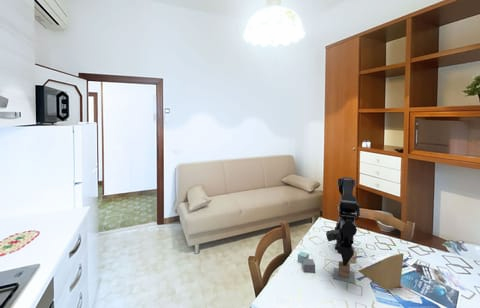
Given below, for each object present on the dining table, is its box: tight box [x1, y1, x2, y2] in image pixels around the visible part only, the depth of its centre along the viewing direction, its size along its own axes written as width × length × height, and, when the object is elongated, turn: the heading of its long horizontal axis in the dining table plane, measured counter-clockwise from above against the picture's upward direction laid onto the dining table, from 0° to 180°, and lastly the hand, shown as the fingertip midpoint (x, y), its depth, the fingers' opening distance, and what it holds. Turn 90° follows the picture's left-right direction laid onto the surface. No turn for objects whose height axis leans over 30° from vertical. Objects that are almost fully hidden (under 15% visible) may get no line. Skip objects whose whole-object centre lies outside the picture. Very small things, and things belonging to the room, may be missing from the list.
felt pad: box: [332, 267, 356, 285], centre depth 113 cm, size 9×9×1 cm
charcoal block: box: [301, 258, 316, 274], centre depth 118 cm, size 5×5×4 cm
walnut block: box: [338, 260, 351, 278], centre depth 113 cm, size 4×4×5 cm
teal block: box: [297, 250, 310, 264], centre depth 125 cm, size 4×4×4 cm
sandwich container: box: [358, 252, 404, 291], centre depth 111 cm, size 9×15×15 cm, turn 21°
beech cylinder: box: [348, 249, 357, 264], centre depth 126 cm, size 4×4×5 cm
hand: (344, 260), depth 112 cm, fingers open, 9 cm apart
